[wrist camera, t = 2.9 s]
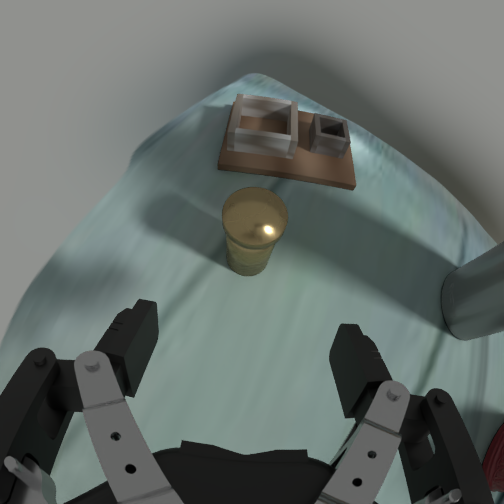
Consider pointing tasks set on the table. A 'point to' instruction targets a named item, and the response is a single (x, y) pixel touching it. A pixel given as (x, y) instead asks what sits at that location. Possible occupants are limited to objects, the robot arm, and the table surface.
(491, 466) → the canister
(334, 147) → the collar base
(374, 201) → the table surface
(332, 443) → the table surface
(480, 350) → the table surface
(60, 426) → the robot arm
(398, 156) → the table surface
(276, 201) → the gold round-topped cylinder
